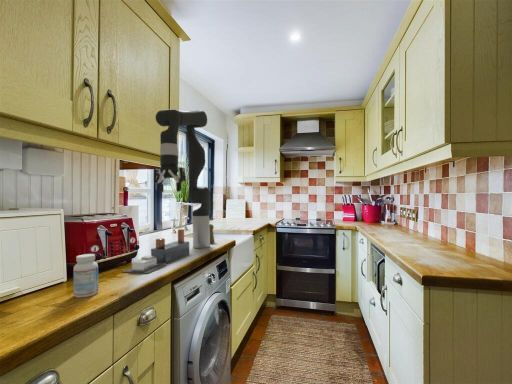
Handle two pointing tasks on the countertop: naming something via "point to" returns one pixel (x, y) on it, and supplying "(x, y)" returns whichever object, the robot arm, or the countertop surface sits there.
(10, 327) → the countertop surface
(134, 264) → the lever cap
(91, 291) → the pill bottle
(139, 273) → the rubber mat
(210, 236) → the cork
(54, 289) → the countertop surface
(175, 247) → the bench plane
